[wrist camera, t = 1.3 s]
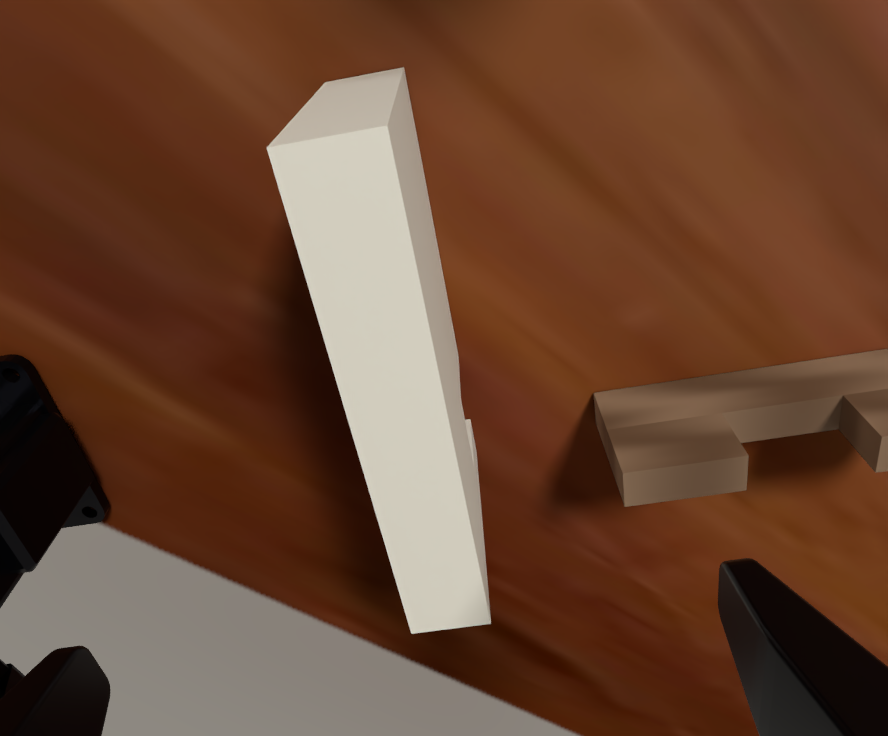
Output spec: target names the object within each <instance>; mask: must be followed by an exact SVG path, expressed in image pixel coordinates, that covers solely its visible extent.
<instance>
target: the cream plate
mask: <svg viewBox="0 0 888 736" xmlns="http://www.w3.org/2000/svg"><path fill="white" fill-rule="evenodd" d="M267 151H268V154H269V157H270V161H271V164H272V167H273V171H274V174H275V178H276V181H277V184H278V188H279V191H280V194H281V198H282V201H283V204H284V208H285V211H286V214H287V218H288V221H289V225H290V228H291V231H292V235H293V238H294V241H295V245H296V248H297V251H298V255H299V258H300V261H301V265H302V268H303V272H304V275H305V278H306V282H307V285H308V288H309V292H310V295H311V298H312V302H313V305H314V308H315V312H316V315H317V319H318V322H319V325H320V329H321V332H322V335H323V339H324V342H325V345H326V349H327V352H328V355H329V359H330V362H331V366H332V369H333V372H334V376H335V379H336V382H337V386H338V389H339V392H340V396H341V399H342V402H343V406H344V409H345V413H346V416H347V419H348V423H349V426H350V429H351V433H352V436H353V439H354V443H355V446H356V449H357V453H358V456H359V460H360V463H361V466H362V470H363V473H364V476H365V480H366V483H367V486H368V490H369V493H370V497H371V500H372V503H373V507H374V510H375V513H376V517H377V520H378V523H379V527H380V530H381V533H382V537H383V540H384V544H385V547H386V550H387V554H388V557H389V560H390V564H391V567H392V570H393V574H394V577H395V580H396V584H397V587H398V591H399V594H400V597H401V601H402V604H403V607H404V611H405V614H406V617H407V621H408V624H409V627H410V631H411V634H414V633H422V632H430V631H438V630H446V629H453V628H461V627H469V626H477V625H485V624H491V617H490V605H489V594H488V582H487V570H486V558H485V547H484V535H483V523H482V511H481V500H480V488H479V476H478V465H477V453H476V446H475V441H474V436H473V430H472V425H471V420H470V419H467V420H465V418H464V413H463V408H462V402H461V391H460V374H459V358H458V351H457V346H456V340H455V335H454V330H453V324H452V319H451V314H450V309H449V303H448V298H447V293H446V287H445V282H444V277H443V271H442V266H441V261H440V256H439V250H438V245H437V240H436V234H435V229H434V224H433V218H432V213H431V208H430V203H429V197H428V192H427V187H426V181H425V176H424V171H423V166H422V160H421V155H420V150H419V144H418V139H417V134H416V128H415V123H414V118H413V113H412V107H411V102H410V97H409V91H408V86H407V81H406V75H405V70H404V67H403V68H397V69H392V70H387V71H382V72H376V73H371V74H366V75H361V76H356V77H350V78H345V79H340V80H335V81H329V82H325V83H324V84H323V85H322V86H321V88H320V89H319V90H318V91H317V92H316V93H315V94H314V95H313V97H312V98H311V99H310V100H309V101H308V102H307V103H306V104H305V105H304V107H303V108H302V109H301V110H300V111H299V112H298V113H297V114H296V116H295V117H294V118H293V119H292V120H291V121H290V122H289V123H288V124H287V126H286V127H285V128H284V129H283V130H282V131H281V132H280V133H279V135H278V136H277V137H276V138H275V139H274V140H273V141H272V142H271V143H270V145H269V146H268V147H267Z"/></svg>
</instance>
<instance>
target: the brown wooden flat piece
mask: <svg viewBox="0 0 888 736" xmlns="http://www.w3.org/2000/svg"><path fill="white" fill-rule="evenodd" d="M594 405H595V418H596V425H597V428H598V431H599V434H600V437H601V440H602V443H603V446H604V448H605V451H606V454H607V457H608V460H609V463H610V466H611V469H612V472H613V475H614V477H615V480H616V483H617V486H618V489H619V492H620V495H621V498H622V501H623V503H624V506H625V507H628V506H635V505H643V504H650V503H657V502H665V501H672V500H679V499H686V498H694V497H701V496H708V495H716V494H723V493H730V492H738V491H745V490H747V474H748V458H749V455H748V454H747V452H746V451H745V449H744V448H743V446H742V444H741V443H745V442H752V441H759V440H766V439H773V438H780V437H787V436H794V435H801V434H808V433H815V432H822V431H829V430H836V429H839V430H840V432H841V433H842V434H843V435H844V436H845V437H846V439H847V440H848V441H849V442H850V443H851V444H852V446H853V447H854V448H855V449H856V450H857V451H858V453H859V454H860V455H861V456H862V457H863V458H864V460H865V461H866V462H867V463H868V464H869V465H870V467H871V468H872V469H873V470H874V471H875V472H884V471H888V349H883V350H876V351H870V352H863V353H856V354H850V355H843V356H836V357H830V358H823V359H816V360H810V361H803V362H796V363H790V364H783V365H776V366H770V367H763V368H756V369H750V370H743V371H736V372H730V373H723V374H716V375H710V376H703V377H697V378H690V379H683V380H677V381H670V382H663V383H657V384H650V385H643V386H637V387H630V388H623V389H617V390H610V391H603V392H597V393H594Z"/></svg>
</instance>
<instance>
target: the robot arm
mask: <svg viewBox="0 0 888 736" xmlns="http://www.w3.org/2000/svg"><path fill="white" fill-rule="evenodd" d="M10 368H12V369H14V370H16V371H17V372H18V373H19V375H20V376H17V375H15V374H13V373H12V372H11V370H10ZM90 507H92V508H94V509H95V510H93V509H91V508H90ZM109 507H110V506H109V503H108V501H107V499H106V497H105V495H104V493H103V492H102V490H101V488H100V486H99V484H98V482H97V481H96V479H95V477H94V474H93V472H92V471H91V469H90V467H89V465H88V463H87V462H86V460H85V458H84V456H83V454H82V452H81V451H80V449H79V447H78V445H77V443H76V442H75V440H74V438H73V436H72V434H71V433H70V431H69V429H68V427H67V425H66V423H65V422H64V420H63V418H62V417H61V415H60V413H59V412H58V410H57V408H56V406H55V404H54V403H53V401H52V399H51V397H50V395H49V394H48V392H47V390H46V388H45V386H44V384H43V383H42V381H41V379H40V377H39V375H38V374H37V372H36V370H35V368H34V366H33V365H32V364H31V362H30V361H29V360H27V359H26V358H24V357H22V356H19V355H4V356H0V608H1V606H2V605H3V603H4V602H5V600H6V599H7V597H8V596H9V594H10V593H11V591H12V590H13V588H14V587H15V585H16V584H17V583H18V581H19V580H20V578H21V576H22V575H23V573H24V572H30V571H33V570H34V569H35V568H36V566H37V564H38V563H39V561H40V560H41V558H42V557H43V555H44V554H45V552H46V551H47V549H48V548H49V546H50V545H51V543H52V542H53V540H54V539H55V537H56V536H57V534H58V533H59V531H60V529H61V528H65V527H72V526H79V525H86V524H93V523H98V522H101V521H102V520H103V519H104V517H105V516H106V514H107V512H108V511H109ZM718 608H719V614H720V618H721V621H722V624H723V627H724V631H725V634H726V637H727V640H728V643H729V646H730V649H731V652H732V655H733V658H734V661H735V664H736V667H737V670H738V673H739V676H740V679H741V682H742V685H743V688H744V691H745V694H746V697H747V700H748V703H749V706H750V709H751V712H752V715H753V718H754V721H755V724H756V727H757V730H758V732H759V735H760V736H888V666H886V665H885V664H884V663H883V662H881V661H880V660H879V659H878V658H876V657H875V656H874V655H873V654H871V653H870V652H869V651H868V650H866V649H865V648H864V647H863V646H861V645H860V644H859V643H858V642H856V641H855V640H854V639H853V638H851V637H850V636H849V635H848V634H846V633H845V632H844V631H843V630H841V629H840V628H839V627H838V626H837V625H835V624H834V623H833V622H832V621H830V620H829V619H828V618H827V617H825V616H824V615H823V614H822V613H820V612H819V611H818V610H817V609H815V608H814V607H813V606H812V605H810V604H809V603H808V602H807V601H805V600H804V599H803V598H802V597H800V596H799V595H798V594H797V593H795V592H794V591H793V590H792V589H790V588H789V587H788V586H787V585H785V584H784V583H783V582H782V581H781V580H779V579H778V578H777V577H776V576H774V575H773V574H772V573H771V572H769V571H768V570H767V569H766V568H764V567H763V566H762V565H761V564H759V563H758V562H757V561H755V560H753V559H750V558H744V559H737V560H729V561H724V562H722V563H721V565H720V568H719V589H718ZM109 699H110V684H109V681H108V679H107V677H106V675H105V674H104V672H103V671H102V669H101V668H100V666H99V665H98V663H97V662H96V660H95V658H94V657H93V656H92V654H91V652H90V651H89V650H88V649H87V648H85V647H83V646H74V647H67V648H61V649H57V650H54V651H53V652H51V653H50V654H49V655H48V656H46V657H45V658H44V659H43V660H42V661H41V662H40V663H39V664H38V665H37V666H35V667H34V668H33V669H32V670H31V671H30V672H29V673H28V674H27V675H26V676H24V675H23V674H22V673H21V672H20V671H19V670H18V669H17V668H15V667H14V666H13V665H12V664H5V663H4V662H3V661H1V660H0V736H101V734H102V730H103V726H104V721H105V717H106V712H107V707H108V703H109Z"/></svg>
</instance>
